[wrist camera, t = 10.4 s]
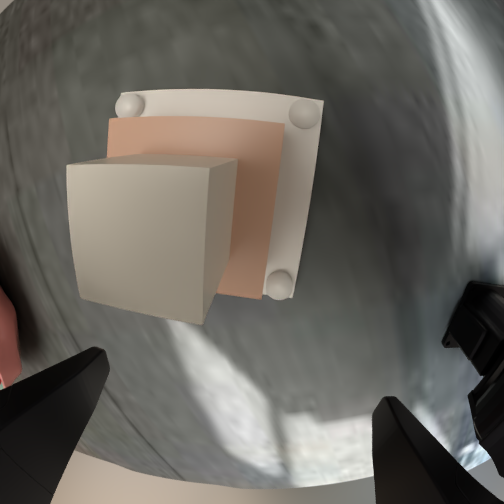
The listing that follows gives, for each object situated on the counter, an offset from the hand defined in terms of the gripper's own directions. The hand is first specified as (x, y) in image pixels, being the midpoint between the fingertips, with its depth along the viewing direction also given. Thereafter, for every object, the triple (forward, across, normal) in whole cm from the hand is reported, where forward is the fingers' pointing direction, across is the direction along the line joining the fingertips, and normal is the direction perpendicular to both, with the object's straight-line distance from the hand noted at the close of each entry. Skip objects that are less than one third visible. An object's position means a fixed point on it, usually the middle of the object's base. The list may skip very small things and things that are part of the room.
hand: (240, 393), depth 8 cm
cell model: (+11, +32, +12) cm, 36 cm away
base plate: (+12, +4, -4) cm, 13 cm away
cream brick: (+6, +4, -4) cm, 8 cm away
